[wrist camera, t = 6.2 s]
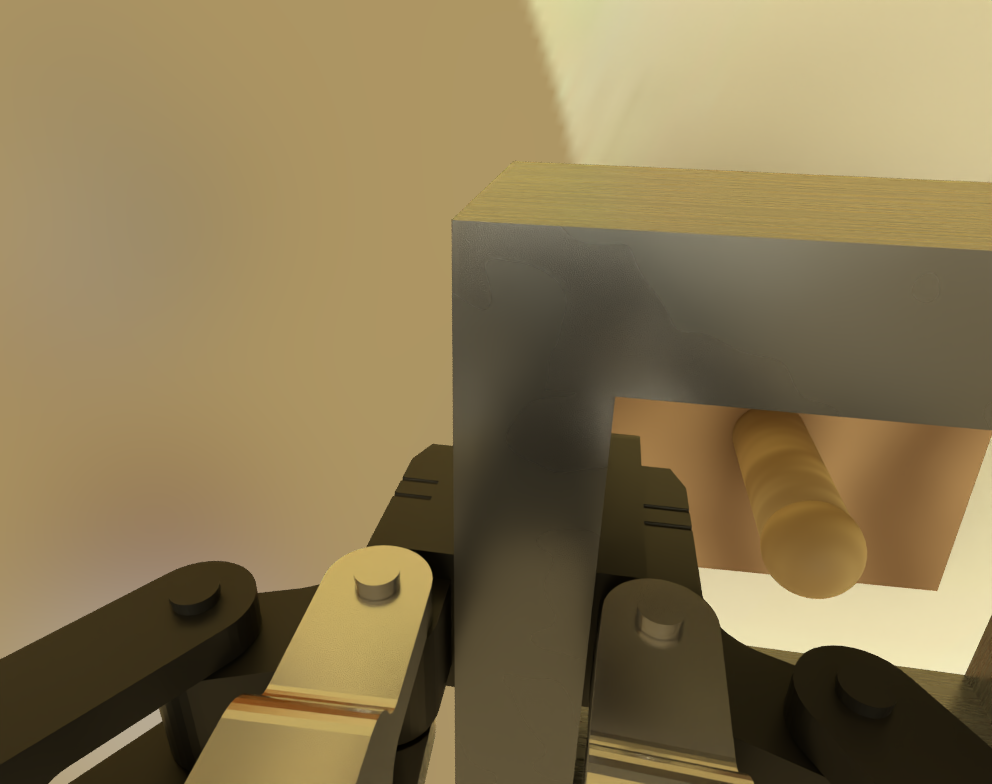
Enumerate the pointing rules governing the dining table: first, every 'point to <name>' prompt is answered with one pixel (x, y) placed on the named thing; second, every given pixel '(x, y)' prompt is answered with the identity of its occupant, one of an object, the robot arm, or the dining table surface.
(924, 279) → the steel link
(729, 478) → the keeper board
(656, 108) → the dining table surface
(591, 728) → the robot arm
